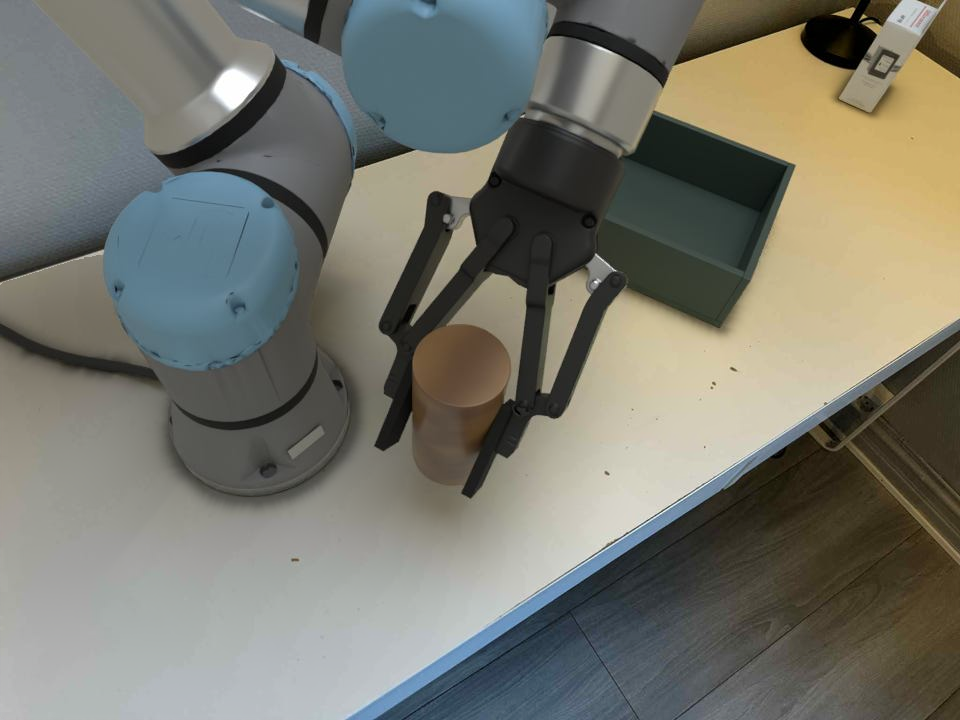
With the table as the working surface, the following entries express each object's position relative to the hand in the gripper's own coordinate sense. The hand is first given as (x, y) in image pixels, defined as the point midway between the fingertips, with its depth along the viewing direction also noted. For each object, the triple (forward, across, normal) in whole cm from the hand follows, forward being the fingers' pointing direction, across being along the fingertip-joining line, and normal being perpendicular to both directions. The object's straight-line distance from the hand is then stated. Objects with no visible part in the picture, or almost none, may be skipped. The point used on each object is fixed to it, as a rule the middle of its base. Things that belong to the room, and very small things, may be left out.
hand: (428, 466), depth 45 cm
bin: (-22, -4, -40) cm, 46 cm away
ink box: (-52, -22, -70) cm, 90 cm away
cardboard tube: (0, 0, -5) cm, 5 cm away
